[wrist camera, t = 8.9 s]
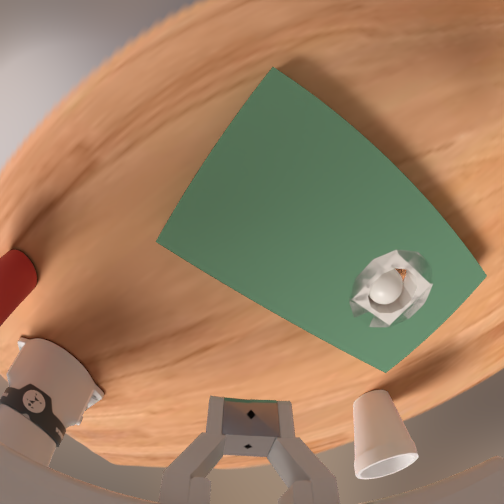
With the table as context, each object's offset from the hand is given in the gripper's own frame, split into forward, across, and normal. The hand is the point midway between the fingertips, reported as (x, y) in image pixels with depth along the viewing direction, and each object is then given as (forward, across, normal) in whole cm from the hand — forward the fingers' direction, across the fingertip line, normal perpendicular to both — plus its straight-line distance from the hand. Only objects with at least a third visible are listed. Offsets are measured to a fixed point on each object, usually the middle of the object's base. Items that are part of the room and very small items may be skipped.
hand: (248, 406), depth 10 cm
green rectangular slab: (+20, -10, +2) cm, 22 cm away
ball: (+18, -15, +4) cm, 23 cm away
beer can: (+22, +31, +11) cm, 39 cm away
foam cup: (+20, -24, +28) cm, 41 cm away
